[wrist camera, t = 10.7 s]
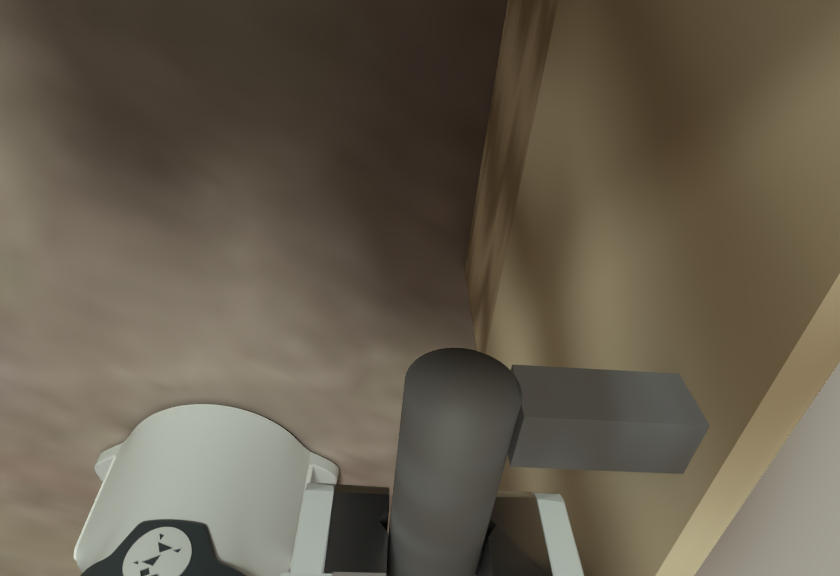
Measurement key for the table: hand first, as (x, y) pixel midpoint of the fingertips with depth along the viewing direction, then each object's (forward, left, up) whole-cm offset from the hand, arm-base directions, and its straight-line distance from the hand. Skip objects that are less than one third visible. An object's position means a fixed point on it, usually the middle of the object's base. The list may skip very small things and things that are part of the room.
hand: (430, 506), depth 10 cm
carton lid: (0, -4, -5) cm, 6 cm away
